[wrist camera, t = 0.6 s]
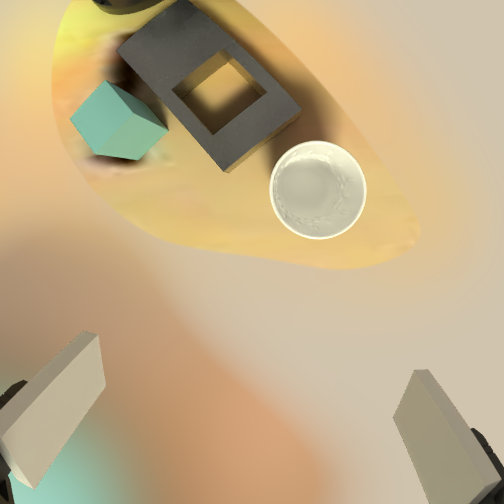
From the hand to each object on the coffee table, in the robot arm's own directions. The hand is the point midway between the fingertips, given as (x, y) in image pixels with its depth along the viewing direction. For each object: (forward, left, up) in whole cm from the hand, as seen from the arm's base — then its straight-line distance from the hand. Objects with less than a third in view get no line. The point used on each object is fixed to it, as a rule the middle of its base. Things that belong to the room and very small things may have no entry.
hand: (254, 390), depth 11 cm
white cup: (-6, +6, -25) cm, 26 cm away
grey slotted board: (-21, -3, -25) cm, 32 cm away
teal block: (-17, -12, -25) cm, 32 cm away
